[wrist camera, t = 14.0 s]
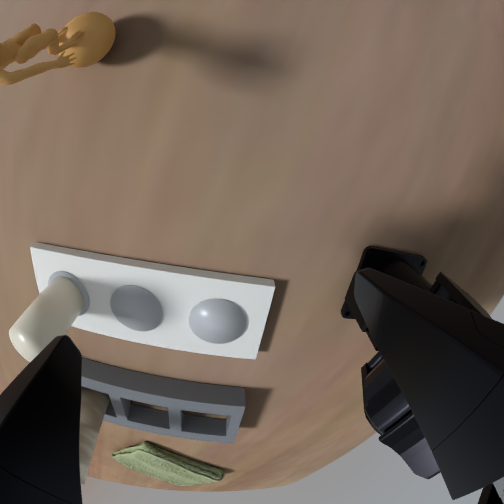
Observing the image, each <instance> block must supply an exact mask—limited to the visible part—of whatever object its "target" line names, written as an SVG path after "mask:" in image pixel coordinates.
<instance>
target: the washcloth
mask: <svg viewBox="0 0 504 504" xmlns="http://www.w3.org/2000/svg"><path fill="white" fill-rule="evenodd" d="M112 457H113V458H114V459H115V460H116V461H118V462H119V463H122V464H123V465H125V466H127V467H128V468H131V469H133V470H135V471H138V472H141V473H144V474H146V475H149V476H153V477H156V478H158V479H161V480H163V481H166V482H169V483H172V484H175V485H178V486H193V485H198V484H200V483H212V482H218V481H221V480H222V479H223V478H224V475H225V474H224V472H223V471H222V470H221V469H218V468H216V467H212V466H209V465H207V464H204V463H200V462H197V461H194V460H192V459H188V458H185V457H182V456H179V455H177V454H174V453H171V452H168V451H166V450H163V449H161V448H158V447H156V446H155V445H152V444H150V443H147V442H145V441H144V442H143V443H141V444H139V445H137V446H133V447H128V448H124V449H122V450H120V451H117V452H113V453H112Z"/></svg>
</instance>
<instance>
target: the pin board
mask: <svg viewBox="0 0 504 504" xmlns="http://www.w3.org/2000/svg"><path fill="white" fill-rule="evenodd" d="M82 386H83V387H86V388H89V389H92V390H96V391H99V392H102V393H106V394H109V397H110V400H109V403H108V406H107V409H106V412H105V415H104V418H103V420H104V421H108V422H111V423H115V424H118V425H122V426H126V427H130V428H134V429H138V430H142V431H147V432H152V433H157V434H162V435H167V436H173V437H179V438H186V439H193V440H201V441H211V442H222V443H234V440H235V437H236V434H237V431H238V428H239V425H240V422H241V419H242V416H243V413H244V410H245V407H246V405H245V388H244V387H232V386H222V385H213V384H205V383H197V382H190V381H184V380H177V379H171V378H166V377H160V376H155V375H150V374H145V373H140V372H136V371H131V370H127V369H123V368H118V367H114V366H110V365H107V364H103V363H99V362H96V361H92V360H89V359H85V358H82V382H81V388H82ZM131 400H133V401H137V402H142V403H146V404H151V405H156V406H162V407H167V408H168V412H166V411H161V410H155V409H151V408H146V407H141V406H137V405H132V403H131ZM183 410H185V411H192V412H200V413H208V414H217V415H227V419H216V418H207V417H199V416H191V415H184V414H183Z"/></svg>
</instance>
